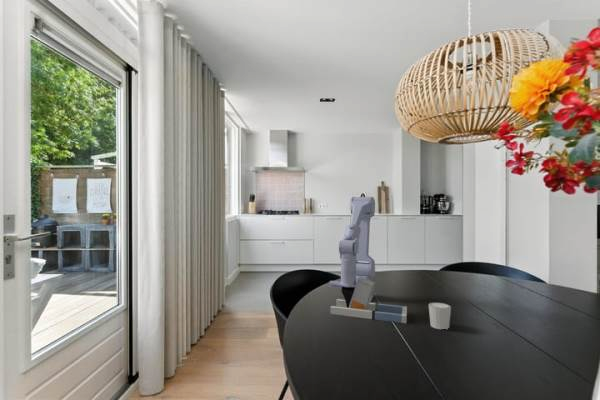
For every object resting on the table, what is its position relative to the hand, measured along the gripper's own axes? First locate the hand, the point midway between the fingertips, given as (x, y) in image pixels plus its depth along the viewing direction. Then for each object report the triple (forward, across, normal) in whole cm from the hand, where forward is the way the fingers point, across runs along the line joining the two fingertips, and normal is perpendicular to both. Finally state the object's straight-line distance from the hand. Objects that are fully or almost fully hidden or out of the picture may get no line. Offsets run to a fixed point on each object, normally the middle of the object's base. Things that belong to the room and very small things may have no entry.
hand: (348, 307), depth 118 cm
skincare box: (+1, +3, 0) cm, 3 cm away
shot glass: (+2, +31, -4) cm, 32 cm away
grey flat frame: (+2, +7, 0) cm, 8 cm away
